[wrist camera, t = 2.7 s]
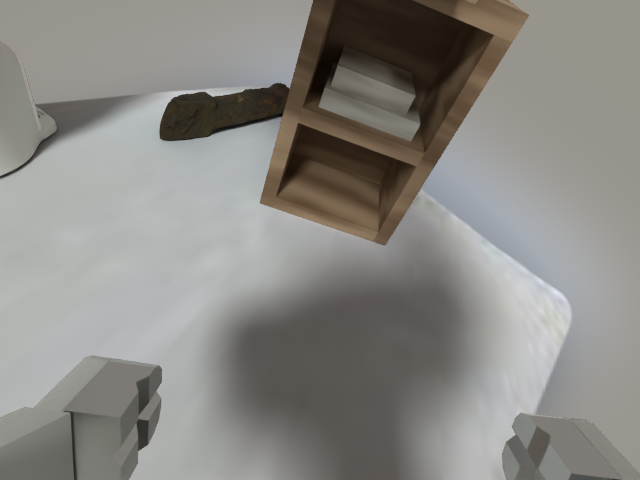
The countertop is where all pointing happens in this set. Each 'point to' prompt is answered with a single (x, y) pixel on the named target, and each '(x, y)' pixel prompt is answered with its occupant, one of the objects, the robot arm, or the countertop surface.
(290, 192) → the wooden shelf
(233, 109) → the hand tool
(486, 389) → the countertop surface
